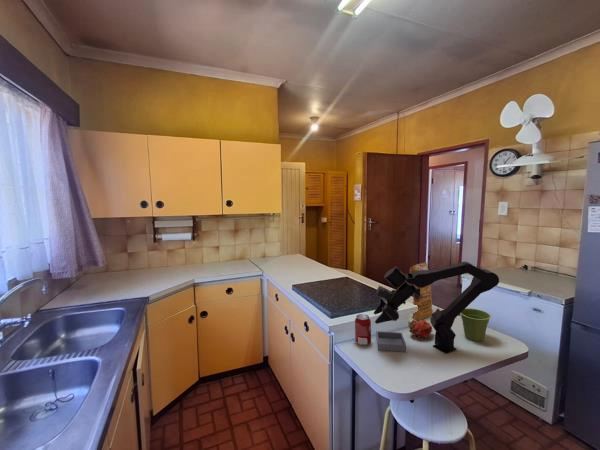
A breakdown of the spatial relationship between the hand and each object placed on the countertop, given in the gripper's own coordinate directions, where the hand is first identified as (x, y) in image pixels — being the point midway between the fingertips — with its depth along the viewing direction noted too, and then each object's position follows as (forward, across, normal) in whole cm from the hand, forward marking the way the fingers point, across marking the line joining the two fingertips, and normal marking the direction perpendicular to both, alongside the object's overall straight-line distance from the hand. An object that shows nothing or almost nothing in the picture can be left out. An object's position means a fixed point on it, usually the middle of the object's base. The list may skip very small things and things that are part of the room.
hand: (374, 318), depth 119 cm
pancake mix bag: (-10, -33, +27) cm, 44 cm away
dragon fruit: (-6, -10, +23) cm, 26 cm away
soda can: (+12, 0, +5) cm, 13 cm away
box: (+4, 0, +13) cm, 13 cm away
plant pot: (-22, -11, +39) cm, 46 cm away
